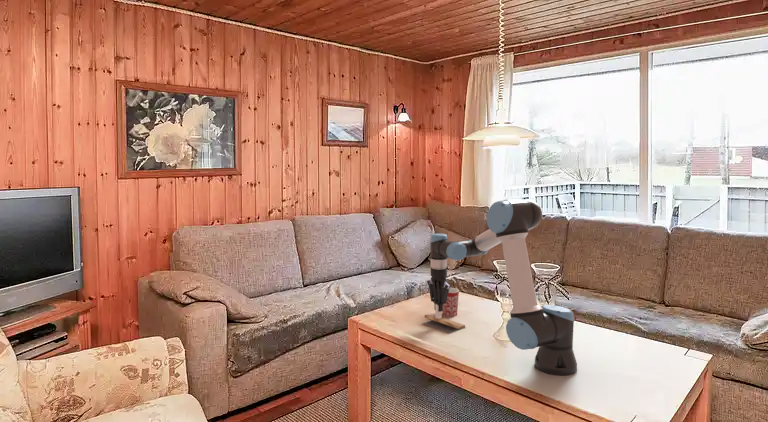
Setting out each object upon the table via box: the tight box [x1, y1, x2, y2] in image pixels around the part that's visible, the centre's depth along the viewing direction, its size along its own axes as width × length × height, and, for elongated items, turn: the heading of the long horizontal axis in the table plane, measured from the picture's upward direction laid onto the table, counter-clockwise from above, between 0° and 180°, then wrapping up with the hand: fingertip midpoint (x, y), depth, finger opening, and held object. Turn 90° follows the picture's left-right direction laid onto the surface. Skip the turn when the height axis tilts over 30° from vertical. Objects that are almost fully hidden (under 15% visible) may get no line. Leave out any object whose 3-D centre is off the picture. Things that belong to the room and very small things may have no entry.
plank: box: [424, 314, 460, 329], centre depth 232 cm, size 17×6×1 cm, turn 40°
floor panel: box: [421, 316, 467, 334], centre depth 233 cm, size 18×11×2 cm, turn 40°
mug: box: [442, 287, 460, 318], centre depth 249 cm, size 13×9×14 cm
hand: (438, 317), depth 230 cm, fingers closed
